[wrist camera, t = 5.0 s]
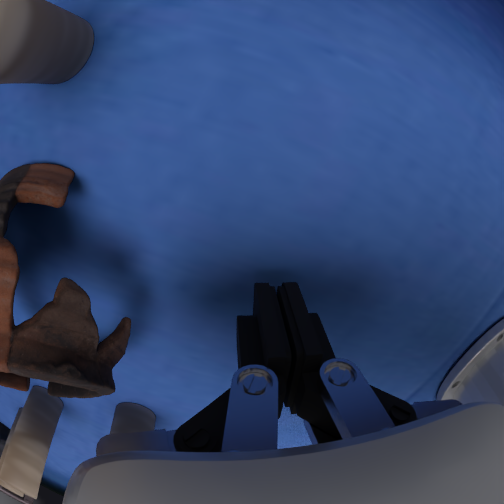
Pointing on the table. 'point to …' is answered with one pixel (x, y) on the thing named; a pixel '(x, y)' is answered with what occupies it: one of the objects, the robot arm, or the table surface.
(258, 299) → the robot arm
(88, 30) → the spacer posts
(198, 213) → the table surface
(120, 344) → the rusty ring bracket
